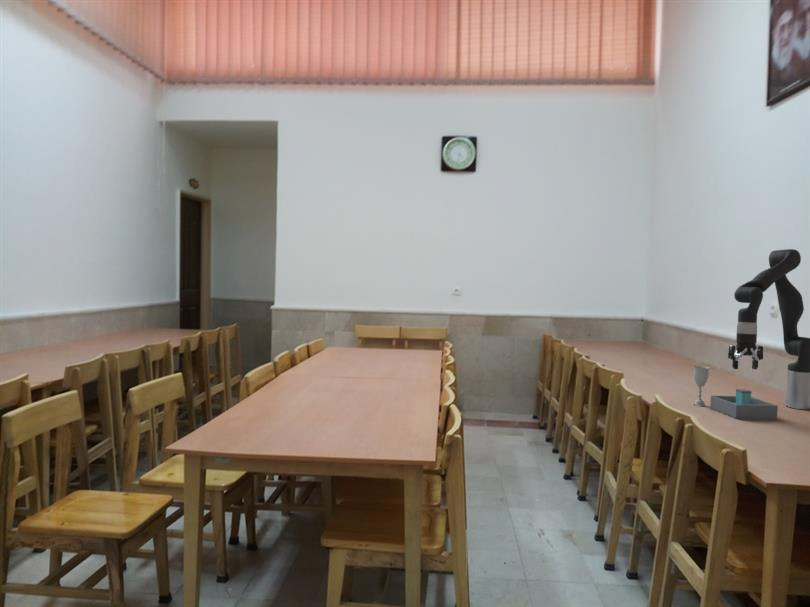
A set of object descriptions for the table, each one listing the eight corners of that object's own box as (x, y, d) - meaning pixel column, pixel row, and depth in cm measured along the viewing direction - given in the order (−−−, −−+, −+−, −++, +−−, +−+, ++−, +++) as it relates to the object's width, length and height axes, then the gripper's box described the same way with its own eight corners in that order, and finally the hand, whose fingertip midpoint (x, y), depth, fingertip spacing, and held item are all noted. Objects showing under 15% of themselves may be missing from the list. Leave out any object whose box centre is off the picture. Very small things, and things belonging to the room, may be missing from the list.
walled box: (748, 409, 248) (749, 396, 248) (777, 419, 230) (777, 405, 230) (710, 408, 247) (710, 395, 247) (735, 418, 229) (736, 405, 229)
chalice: (687, 403, 256) (689, 366, 255) (697, 402, 259) (699, 365, 258) (700, 407, 249) (702, 368, 249) (711, 406, 252) (713, 368, 251)
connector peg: (743, 411, 241) (745, 389, 240) (750, 413, 236) (751, 391, 236) (734, 411, 241) (735, 389, 240) (740, 413, 236) (742, 391, 236)
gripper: (756, 331, 241) (754, 367, 242) (725, 331, 240) (723, 367, 241) (768, 333, 233) (766, 370, 234) (736, 333, 233) (734, 370, 234)
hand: (744, 369), depth 238 cm, fingers open, 8 cm apart
